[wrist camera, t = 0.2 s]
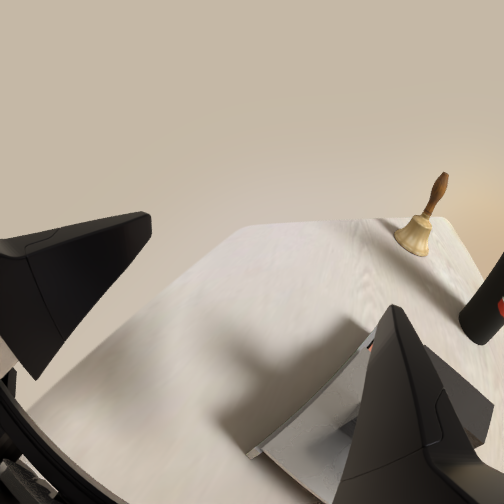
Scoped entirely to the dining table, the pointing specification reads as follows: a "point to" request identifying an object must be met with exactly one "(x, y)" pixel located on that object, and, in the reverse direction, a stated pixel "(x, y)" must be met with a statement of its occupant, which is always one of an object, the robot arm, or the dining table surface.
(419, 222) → the hand bell
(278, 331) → the dining table surface
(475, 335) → the wine bottle
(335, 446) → the lid
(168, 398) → the dining table surface
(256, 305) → the dining table surface
